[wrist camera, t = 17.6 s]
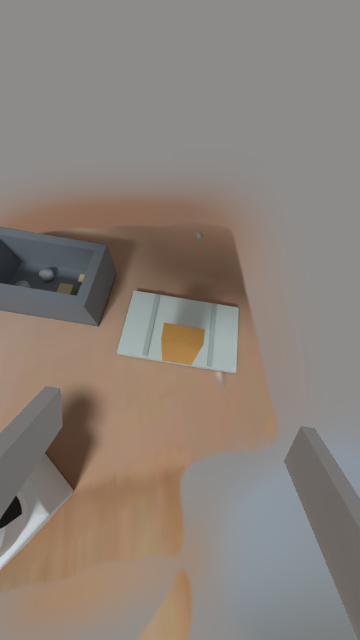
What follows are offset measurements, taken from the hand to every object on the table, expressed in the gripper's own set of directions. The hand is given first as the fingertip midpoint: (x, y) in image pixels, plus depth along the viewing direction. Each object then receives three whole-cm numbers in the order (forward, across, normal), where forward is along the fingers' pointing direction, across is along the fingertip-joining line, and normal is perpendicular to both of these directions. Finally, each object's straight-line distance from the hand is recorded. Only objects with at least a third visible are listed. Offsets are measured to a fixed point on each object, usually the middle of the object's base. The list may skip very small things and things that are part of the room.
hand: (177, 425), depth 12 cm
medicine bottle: (+9, -16, -26) cm, 32 cm away
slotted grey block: (+27, 0, -7) cm, 28 cm away
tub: (+31, -25, -4) cm, 40 cm away
